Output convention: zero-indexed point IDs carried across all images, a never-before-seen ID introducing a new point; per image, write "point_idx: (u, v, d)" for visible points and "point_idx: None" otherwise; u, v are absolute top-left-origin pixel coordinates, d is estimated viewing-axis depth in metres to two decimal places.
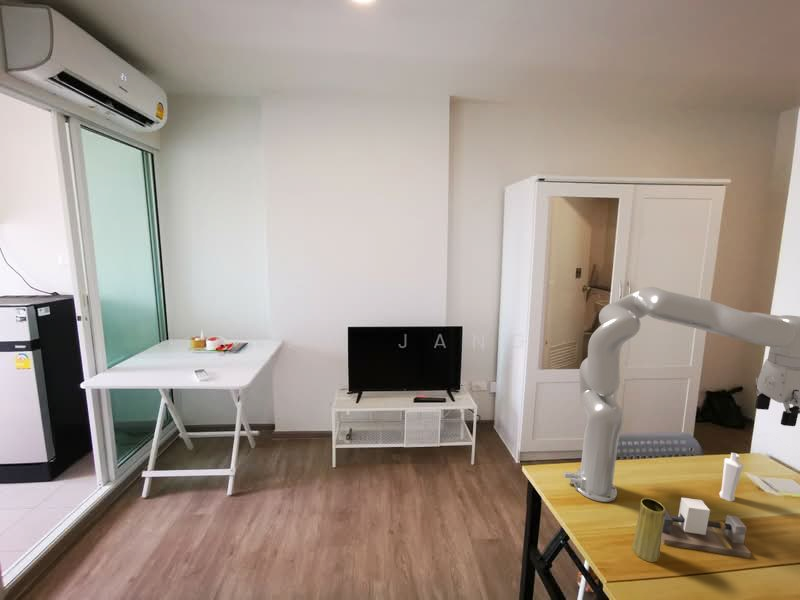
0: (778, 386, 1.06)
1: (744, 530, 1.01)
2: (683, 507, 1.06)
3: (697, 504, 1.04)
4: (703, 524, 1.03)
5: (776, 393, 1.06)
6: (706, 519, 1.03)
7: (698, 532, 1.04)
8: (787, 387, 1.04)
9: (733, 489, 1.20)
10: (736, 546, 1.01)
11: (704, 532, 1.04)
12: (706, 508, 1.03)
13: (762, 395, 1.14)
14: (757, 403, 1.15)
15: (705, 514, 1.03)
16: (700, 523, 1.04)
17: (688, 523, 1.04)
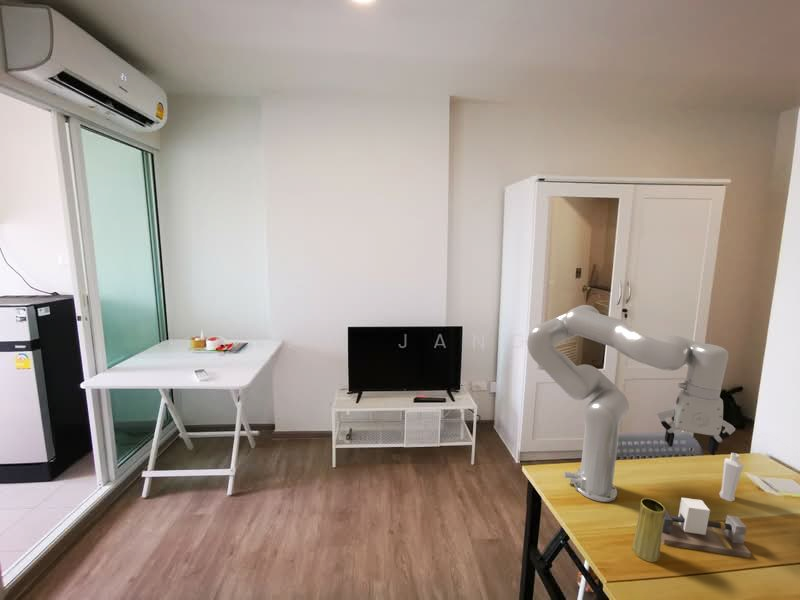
0: (714, 420, 1.00)
1: (744, 530, 1.01)
2: (683, 507, 1.06)
3: (697, 504, 1.04)
4: (703, 524, 1.03)
5: (712, 428, 1.00)
6: (706, 519, 1.03)
7: (698, 532, 1.04)
8: None
9: (733, 489, 1.20)
10: (736, 546, 1.01)
11: (704, 532, 1.04)
12: (706, 508, 1.03)
13: None
14: (672, 441, 1.05)
15: (705, 514, 1.03)
16: (700, 523, 1.04)
17: (688, 523, 1.04)
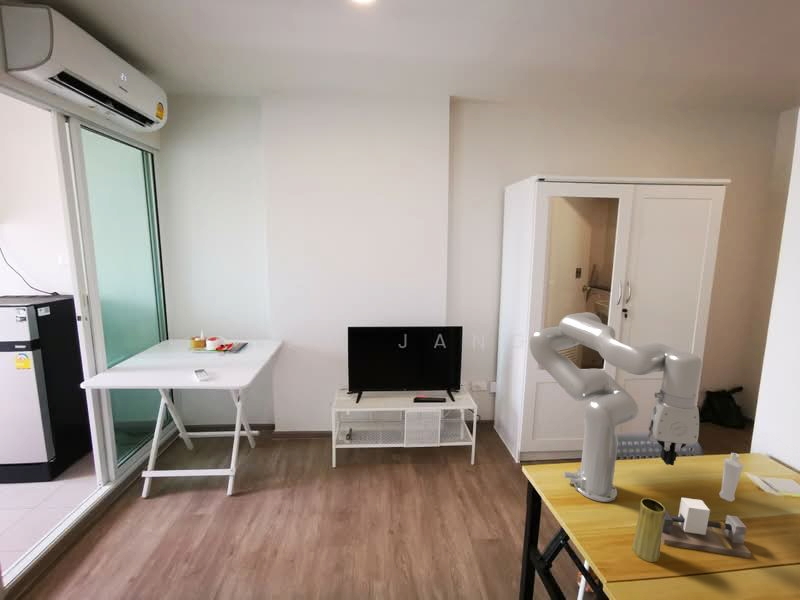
0: (691, 429, 0.99)
1: (744, 530, 1.01)
2: (683, 507, 1.06)
3: (697, 504, 1.04)
4: (703, 524, 1.03)
5: (689, 436, 0.99)
6: (706, 519, 1.03)
7: (698, 532, 1.04)
8: (698, 426, 0.99)
9: (733, 489, 1.20)
10: (736, 546, 1.01)
11: (704, 532, 1.04)
12: (706, 508, 1.03)
13: None
14: (669, 459, 1.02)
15: (705, 514, 1.03)
16: (700, 523, 1.04)
17: (688, 523, 1.04)
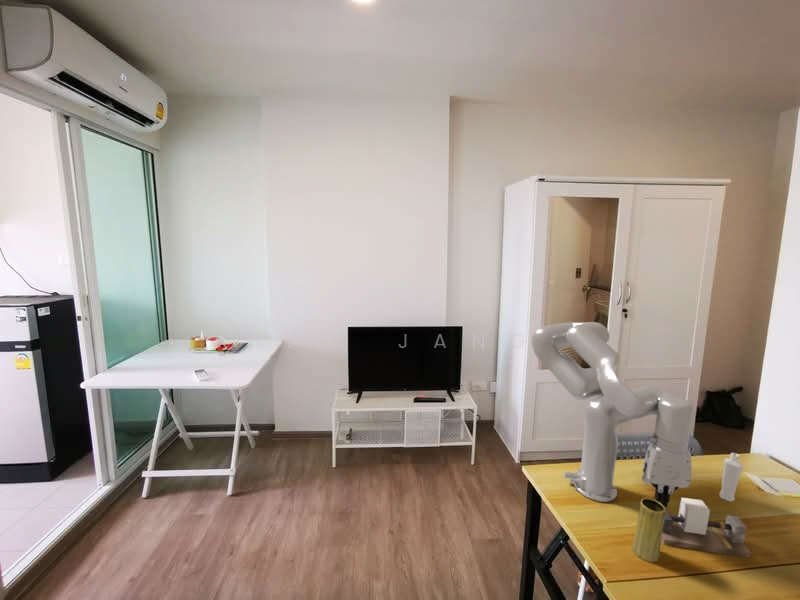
0: (684, 473, 1.01)
1: (744, 530, 1.01)
2: (683, 507, 1.06)
3: (697, 504, 1.04)
4: (703, 524, 1.03)
5: (682, 480, 1.01)
6: (706, 519, 1.03)
7: (698, 532, 1.04)
8: None
9: (733, 489, 1.20)
10: (736, 546, 1.01)
11: (704, 532, 1.04)
12: (706, 508, 1.03)
13: (662, 488, 1.05)
14: (663, 501, 1.05)
15: (705, 514, 1.03)
16: (700, 523, 1.04)
17: (688, 523, 1.04)
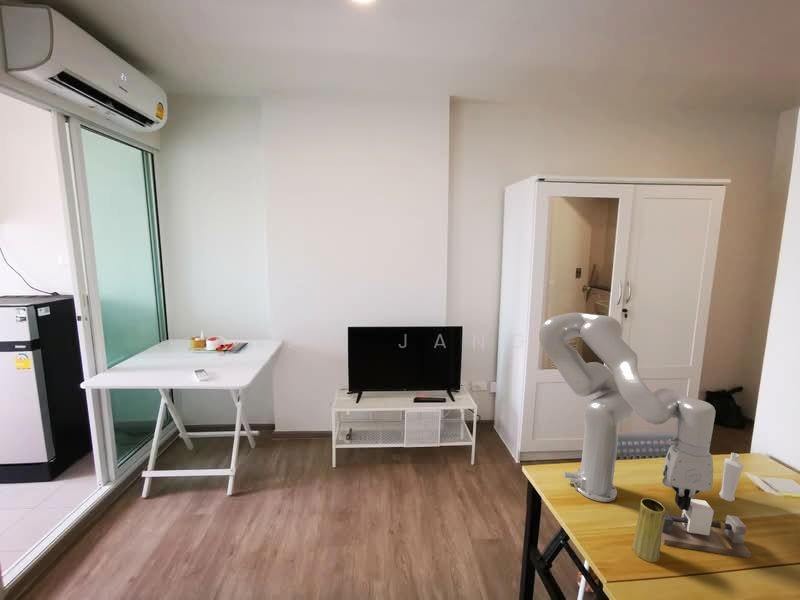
0: (705, 476, 1.00)
1: (744, 530, 1.01)
2: None
3: (701, 505, 1.04)
4: (707, 525, 1.03)
5: (704, 483, 1.00)
6: (710, 520, 1.03)
7: (702, 533, 1.04)
8: (712, 473, 1.00)
9: (733, 489, 1.20)
10: (736, 546, 1.01)
11: (708, 532, 1.03)
12: (710, 509, 1.03)
13: (683, 491, 1.04)
14: (684, 504, 1.04)
15: (709, 515, 1.03)
16: (703, 523, 1.03)
17: (692, 524, 1.04)
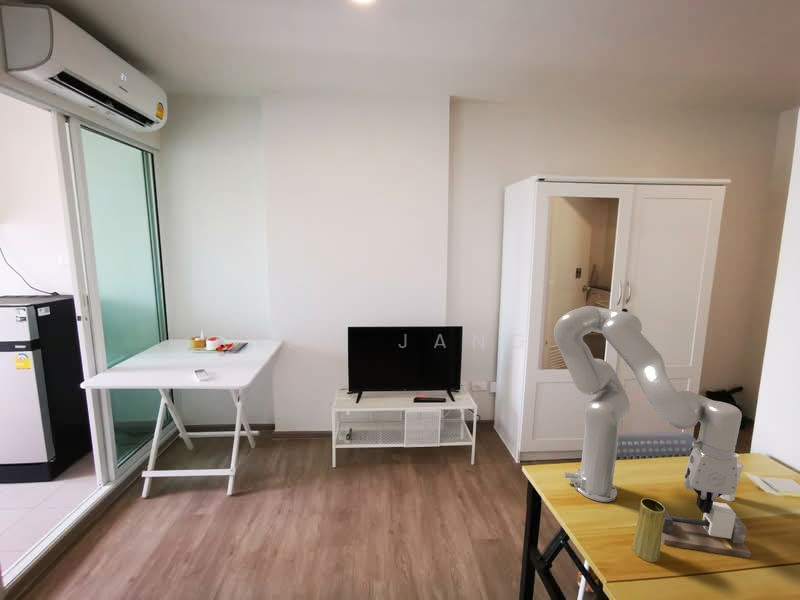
0: (729, 480, 0.99)
1: (744, 530, 1.01)
2: None
3: (723, 508, 1.03)
4: (729, 528, 1.02)
5: (727, 487, 0.99)
6: (732, 523, 1.02)
7: (723, 536, 1.03)
8: None
9: None
10: (736, 546, 1.01)
11: (730, 535, 1.02)
12: (732, 512, 1.02)
13: (705, 494, 1.03)
14: (705, 507, 1.03)
15: (731, 518, 1.02)
16: (725, 526, 1.02)
17: (714, 527, 1.03)
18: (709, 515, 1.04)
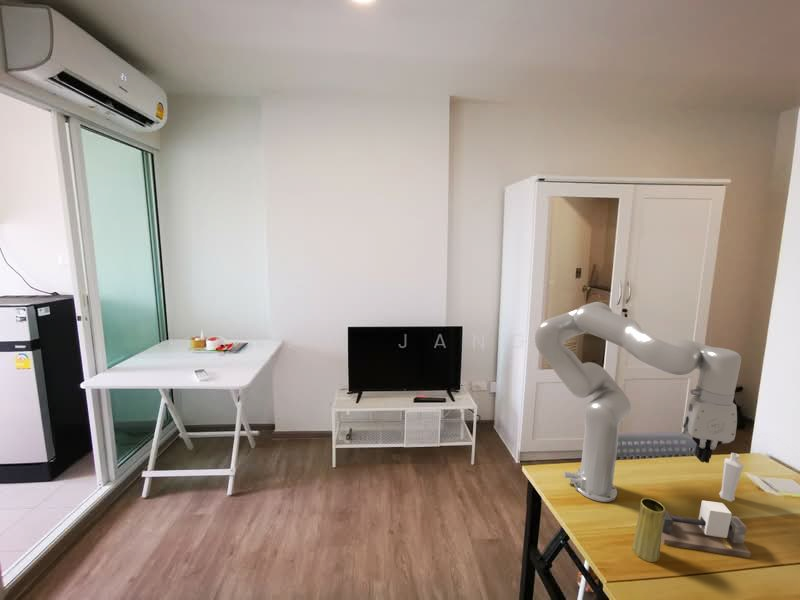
0: (728, 426, 0.97)
1: (744, 530, 1.01)
2: (704, 510, 1.05)
3: (719, 507, 1.03)
4: (725, 527, 1.02)
5: (726, 434, 0.98)
6: (728, 522, 1.02)
7: (719, 535, 1.03)
8: None
9: (733, 489, 1.20)
10: (736, 546, 1.01)
11: (726, 535, 1.03)
12: (728, 511, 1.02)
13: (704, 443, 1.01)
14: (704, 456, 1.01)
15: (727, 517, 1.02)
16: (721, 526, 1.03)
17: (710, 527, 1.03)
18: (705, 514, 1.04)
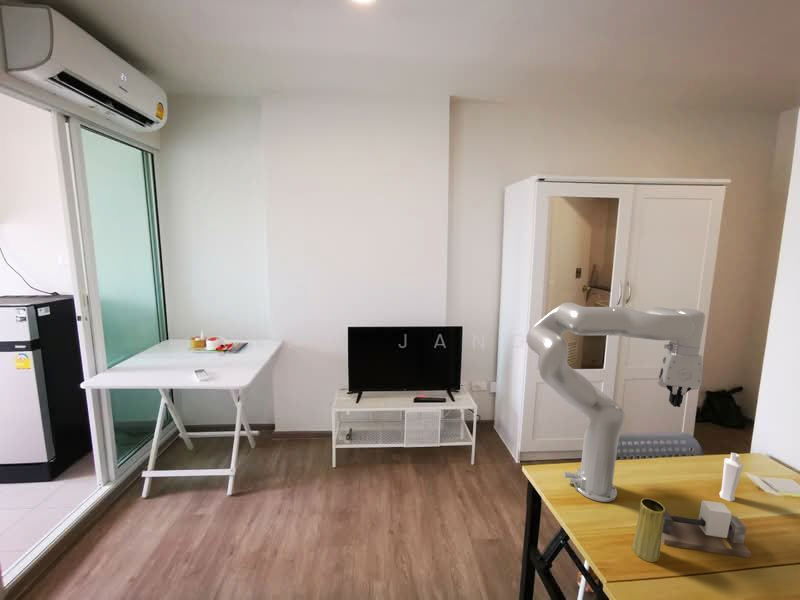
0: (695, 374, 1.16)
1: (744, 530, 1.01)
2: (704, 510, 1.05)
3: (719, 507, 1.03)
4: (725, 527, 1.02)
5: (694, 381, 1.16)
6: (728, 522, 1.02)
7: (719, 535, 1.03)
8: None
9: (733, 489, 1.20)
10: (736, 546, 1.01)
11: (726, 535, 1.03)
12: (728, 511, 1.02)
13: (676, 390, 1.19)
14: (676, 401, 1.19)
15: (727, 517, 1.02)
16: (721, 526, 1.03)
17: (710, 527, 1.03)
18: (705, 514, 1.04)
